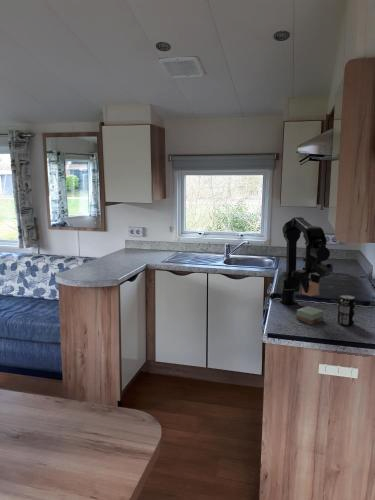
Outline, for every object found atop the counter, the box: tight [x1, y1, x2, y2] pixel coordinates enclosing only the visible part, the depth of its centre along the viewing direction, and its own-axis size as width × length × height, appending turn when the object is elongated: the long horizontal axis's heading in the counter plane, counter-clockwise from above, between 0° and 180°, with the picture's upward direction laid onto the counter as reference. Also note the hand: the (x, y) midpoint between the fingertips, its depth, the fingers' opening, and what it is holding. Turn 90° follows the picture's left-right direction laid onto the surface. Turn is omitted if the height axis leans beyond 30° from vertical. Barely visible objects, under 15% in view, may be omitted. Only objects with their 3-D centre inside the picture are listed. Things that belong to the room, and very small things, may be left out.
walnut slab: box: [295, 314, 324, 325], centre depth 171 cm, size 8×8×2 cm
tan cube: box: [301, 280, 320, 297], centre depth 169 cm, size 5×5×5 cm
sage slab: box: [296, 305, 324, 320], centre depth 171 cm, size 8×8×2 cm
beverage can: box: [336, 294, 357, 327], centre depth 165 cm, size 7×7×12 cm
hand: (310, 291), depth 169 cm, fingers closed on tan cube, 5 cm apart
